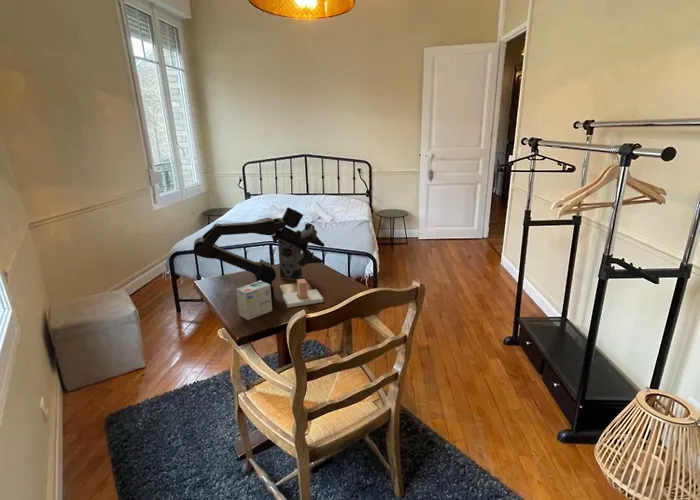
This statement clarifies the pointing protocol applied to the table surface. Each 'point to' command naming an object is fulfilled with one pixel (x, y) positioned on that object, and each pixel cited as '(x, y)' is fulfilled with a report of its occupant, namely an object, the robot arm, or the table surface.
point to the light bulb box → (254, 299)
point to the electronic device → (289, 261)
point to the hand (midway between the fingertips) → (323, 253)
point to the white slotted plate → (293, 299)
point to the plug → (302, 289)
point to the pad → (291, 288)
